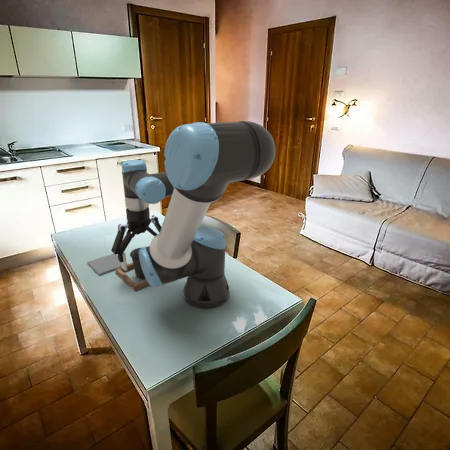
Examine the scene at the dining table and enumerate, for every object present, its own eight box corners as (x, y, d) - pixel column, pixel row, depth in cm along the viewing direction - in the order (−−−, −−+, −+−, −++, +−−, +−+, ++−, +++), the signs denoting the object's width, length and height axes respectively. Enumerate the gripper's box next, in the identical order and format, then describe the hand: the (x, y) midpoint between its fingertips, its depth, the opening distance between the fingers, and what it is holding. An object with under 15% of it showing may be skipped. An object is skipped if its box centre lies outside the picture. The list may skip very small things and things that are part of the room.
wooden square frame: (171, 276, 116) (170, 270, 115) (135, 291, 107) (134, 284, 106) (150, 260, 125) (150, 254, 124) (116, 273, 116) (115, 267, 115)
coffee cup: (128, 273, 116) (125, 249, 112) (148, 266, 121) (146, 243, 117) (138, 283, 111) (135, 258, 107) (159, 275, 116) (157, 251, 112)
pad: (127, 265, 121) (127, 263, 121) (99, 275, 115) (98, 273, 114) (114, 254, 129) (114, 253, 129) (87, 263, 122) (87, 262, 122)
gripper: (163, 196, 116) (166, 248, 125) (95, 212, 100) (103, 270, 109) (175, 202, 111) (177, 255, 120) (105, 220, 95) (113, 279, 104)
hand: (142, 262), depth 114 cm, fingers open, 13 cm apart
